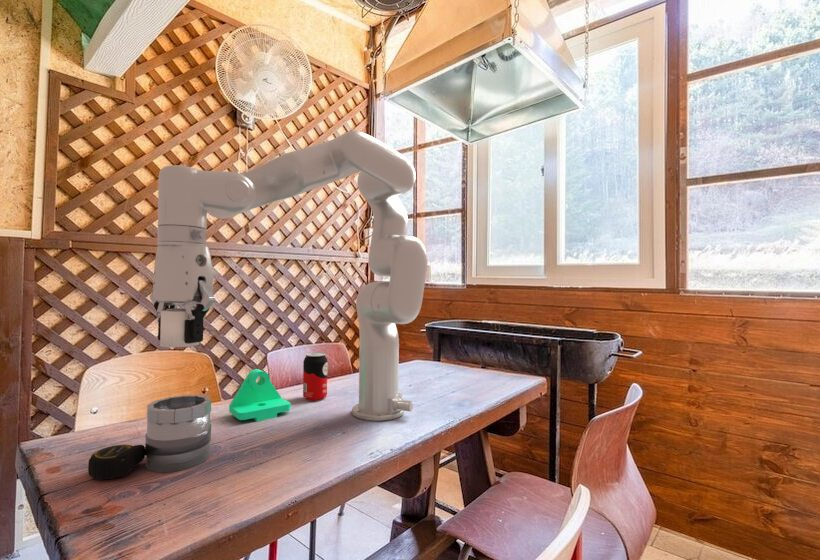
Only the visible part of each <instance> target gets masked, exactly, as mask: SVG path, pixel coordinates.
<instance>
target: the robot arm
mask: <svg viewBox="0 0 820 560" xmlns="http://www.w3.org/2000/svg"><path fill="white" fill-rule="evenodd" d="M358 173H359V174H358ZM356 174H358V176H357V179H356V180H357V188H358V190H359V192H360V194H361V196H362V197H363V198H364V199H365V201H366V203H368V205H369V207H370V209H371V212H372V215H373V222H372V223H373V225H372V233H371V237H370V238H371V239H370V246H369V251H368V267H369V270H370V271H371V272H372V273H373V274H375V275H376V276H379V277H384V278H385V277H387V278H388V277H389V281H373V282H370V283H367V284H366V285H363V286H362V287H361V289H359V292H358V293H357V297H356V300H355V304H356V305H355V307H356V309H355V310H356V315H357V319H358V329H359V332H358V333H359V348H358V349H359V352H358V353H359V354H358V355H359V356H358V357H359V358H358V359H359V361H358V363H359V364H358V403H355V405H353V407H352V409H351V414H352V416H354V417H356V418H357V419H360V420H366V421H374V422H375V421H377V422H378V421H389V420H394V419H398V418H400V417H401V416H403V415H404V414H405V412H411V413H412V412H413V408H414V404H413V401H412V400H408V399H404V398H403V393H402V392H399V361H400V358H399V357H400V356H399V353H400V352H399V351H400V339H399V332H398V328H397V325H406V324H410V323H412V322H413V321H414V320H415V319H416V318H417V317H418V315H419V314H420V312H421V308H422V305H423V304H422V303H423V298H424V293H425V284H426V278H427V270H428V254H427V250H426V248H425V245H424V244H423V242H422V241H421V240H420V239H419V238H417V237H416V236H413V235H407V234H408V225H409V219H408V218H409V217H408V214H407V210H406V208H405V206H404V204H403V203H402V201H401V199H400V197H399V195H400V196H401V195H404V194H406V193H407V192H409V191H410V190H412V188H413V187H414V185H415V184H416V170H415V167H414V165H413V164H412V162H411V161H410V160H409V159H408V158H407V157H406V156H404V155H403V154H402V153H400V152H399V151H397V150H395V149H393V148H392V147H390V146H389V145H387V144H386V143H384V142H383V141H381V140H379V139H377V138H375V137H374V136H372V135H369V134H368V133H366V132H363V131H361V130H354V129H353V130H349V131H347V132H346V131H345V133H342V134H340V135H339V136H337V137H334V138H333V139H330V140H328V141H324V142H321V143H317V144H315V145H314V144H313V145H311V146H307V147H304V148H300V149H296V150H293V151H290V152H289V151H288V152H287V153H284V154H282V155H279V156H277V157H276V158H273V159H271V160H270V161H268V162H266V163H264V164H261V165H260V166H258V167H255V168H253V169H251V170H248V171H246V172H243V173H239V172H235V171H226V170H225V171H223V170H222V171H221V170H220V171H217V170H201V169H198V168H195V167H191V166H187V165H180V164H179V165H177V164H176V165H175V164H173V165H166V166H164V167H162V168H161V169H160V170H159V173H158V185H157V186H158V188H157V189H158V192H157V193H158V194H157V195H158V197H157V200H158V201H157V243H156V244H157V248H156V253H155V259H154V265H153V266H154V268H153V281H152V283H153V284H152V291H151V293H150V295H149V299H150V301H151V303H152V304H153V308H154V309H155V311H156V314H155V315H156V317H157V318H158V327H157V331H158V332H157V340H158V341H160V331H161V311H163V310H166V309H171V308H178V306H179V304H184V308H185V309H186V313H187V317H188V319H189V320H185V332H184V342H185V343H188V344H189V343H196V342H200V343H202V342H203V340H204V320H205V319H206V318H207V313H208V312H209V311H210V310H211V307H212V305H214V303H215V302H216V296H215V294H214V275H213V274H214V273H213V263H212V262H213V261H212V257H211V252H210V248H209V246H207V230H208V229H207V228H208V227H207V224H208V223H207V222H208V221H207V220H208V217H207V215H209V216H211V217H213V218H216V219H220V220H221V219H223V220H224V219H229V218H232V217H234V216H237V215H240V214H243V213H245V212H248V211H250V210H253V209H257V208H259V207H263V206H265V205H268V204H272V203H274V202H277V201H281V200H286V199H289V198H290V199H291V198H294V197H296V196H298V195H302V194H304V193H307V192H310V191H312V190H315V189H318V188H320V187H323V186H326V185H329V184H332V183H335V182H338V181H340V180H342V179H345V178H348V177H350V176H352V175H356ZM194 307H195V309H194V310H193V308H194Z"/></svg>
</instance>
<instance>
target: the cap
mask: <svg viewBox="0 0 820 560" xmlns="http://www.w3.org/2000/svg"><path fill="white" fill-rule="evenodd" d="M195 308H196V307H195ZM195 308H194V307H193V310H194V309H195ZM185 320H189V319H188V317H187V313H186V309H185V307H177V308H171V309H166V310H163V311H161V331H160V340H159V341H160V343H159V344H160V345H159V347H160V348H186V347H188V348H189V347H194V346H198V345H200V343H201V342H196V343H189V344H188V343H185V342H184V332H185Z"/></svg>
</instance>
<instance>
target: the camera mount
mask: <svg viewBox="0 0 820 560" xmlns="http://www.w3.org/2000/svg"><path fill="white" fill-rule="evenodd" d="M258 378H259V380H258ZM257 380H258V381H257ZM277 390H278V389H276V387H275V385H274V384H273V382H272V381H271V379H270V375H269V374H268V373H267V372H265V371H263V370H261V369H259V368H258V369H257V368H256V369H252V370H251V371H249V372H248V373H247V375H246V376H245V378H244V380H243V382H242V383H241V385H240V387H239V388H238V390H237V391H236V393H235V395H234V397H233V399H232V400H231V402H230V403H229V405H228V410H229V411H228V412H229V414H231V415H232V416H234V418H236V419H237V420H240V421H246V420H250V419H253V420H254V421H255V422H260V421H265V420H269V419H274V418H277V417H278V414H279V413H284V412H290V411H291V409H292V407H291V404H292V403H291V402H290V401H288V400H286V399H284V398H283V397H281V395H280V393H279V392H278V391H277Z"/></svg>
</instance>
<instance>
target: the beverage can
mask: <svg viewBox="0 0 820 560" xmlns="http://www.w3.org/2000/svg"><path fill="white" fill-rule="evenodd" d="M302 363H303V366H302V367H303V368H302V369H303V370H302V373H303V375H302V377H303V378H302V386H303V388H302V396H303V398H304V399H305V400H306V401H310V402H319V401H323V400H324V399H325V398H326V397H327V396H328V358H327V357H326V353H325V352H317V351H316V352H309V353H306V354H305V357H304V359H303V362H302Z"/></svg>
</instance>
